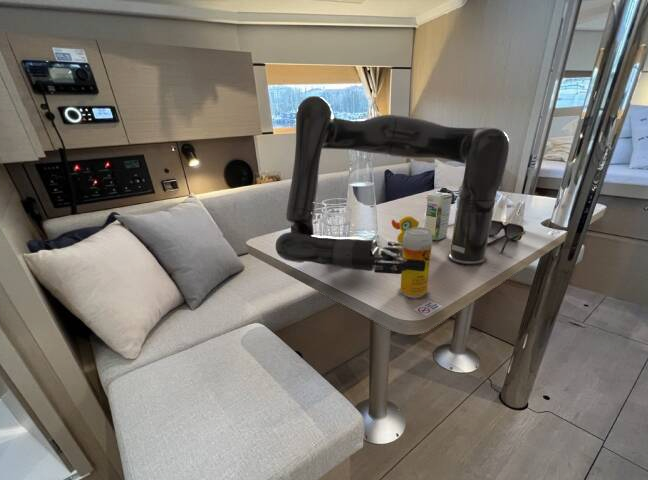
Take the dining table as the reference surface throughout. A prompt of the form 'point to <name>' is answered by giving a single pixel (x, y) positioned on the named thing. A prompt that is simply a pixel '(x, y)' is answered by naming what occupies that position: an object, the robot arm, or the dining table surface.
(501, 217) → the shaker set
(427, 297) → the dining table surface
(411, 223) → the duckling
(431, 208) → the syrup box
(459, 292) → the dining table surface
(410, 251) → the yellow bottle
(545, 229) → the dining table surface
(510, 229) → the sunglasses
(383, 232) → the dining table surface
